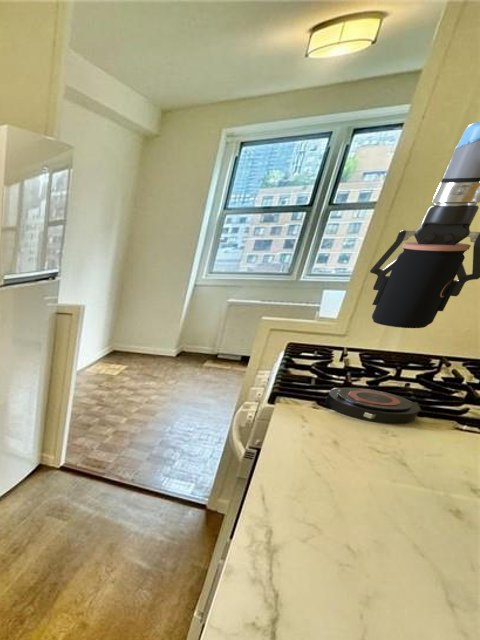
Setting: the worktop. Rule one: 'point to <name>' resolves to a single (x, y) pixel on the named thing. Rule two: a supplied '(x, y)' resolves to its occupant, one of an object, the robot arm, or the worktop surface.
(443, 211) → the robot arm
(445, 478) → the worktop surface
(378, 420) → the hot plate
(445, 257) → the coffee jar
